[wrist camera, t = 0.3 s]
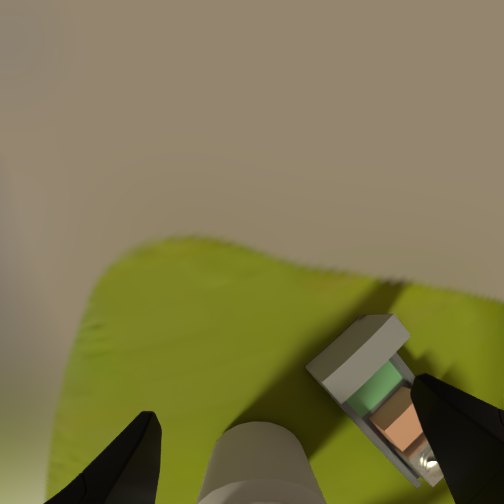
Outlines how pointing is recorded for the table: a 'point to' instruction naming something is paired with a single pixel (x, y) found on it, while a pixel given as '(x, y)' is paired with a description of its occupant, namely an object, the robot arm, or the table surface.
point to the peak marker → (398, 419)
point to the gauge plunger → (421, 459)
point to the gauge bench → (366, 375)
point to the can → (259, 468)
